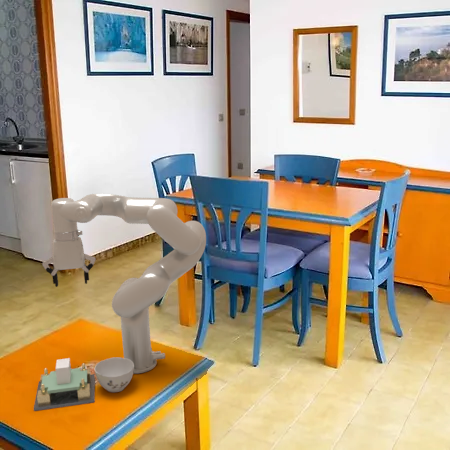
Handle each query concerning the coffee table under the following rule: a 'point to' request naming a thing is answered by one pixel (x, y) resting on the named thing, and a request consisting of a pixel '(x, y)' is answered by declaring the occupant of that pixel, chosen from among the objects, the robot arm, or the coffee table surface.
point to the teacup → (114, 373)
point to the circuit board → (64, 387)
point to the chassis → (65, 394)
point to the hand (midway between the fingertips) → (71, 283)
